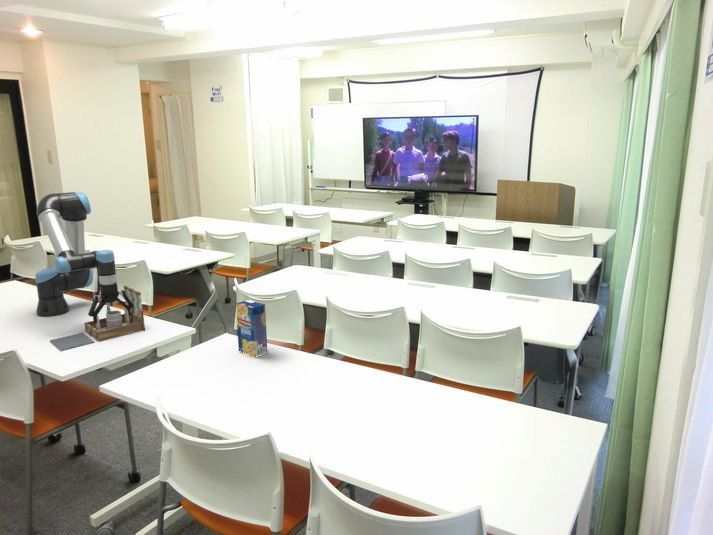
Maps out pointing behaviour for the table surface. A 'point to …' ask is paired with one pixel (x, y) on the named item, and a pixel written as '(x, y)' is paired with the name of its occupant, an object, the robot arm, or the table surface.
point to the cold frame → (134, 320)
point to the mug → (113, 318)
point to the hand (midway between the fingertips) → (113, 325)
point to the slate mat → (71, 341)
